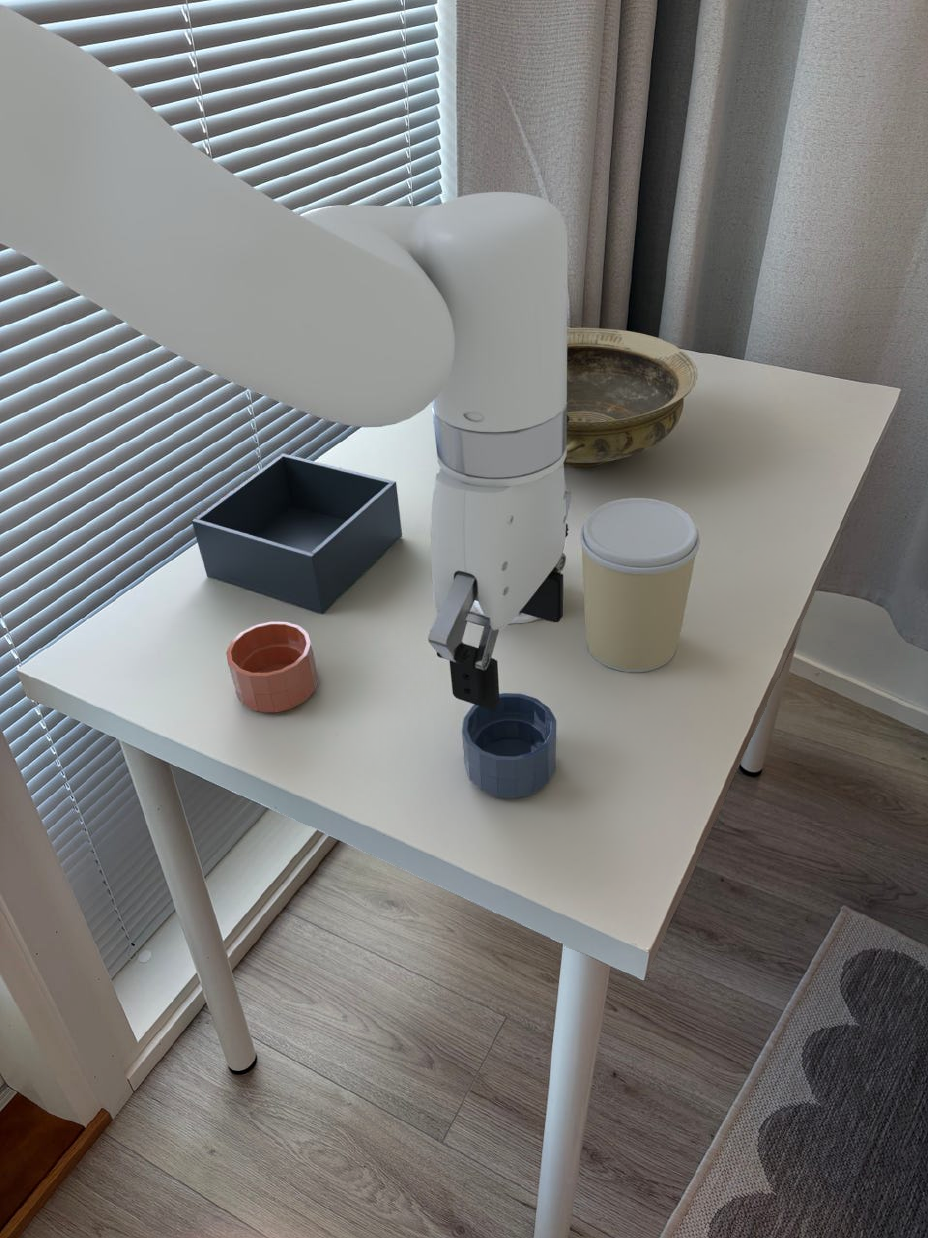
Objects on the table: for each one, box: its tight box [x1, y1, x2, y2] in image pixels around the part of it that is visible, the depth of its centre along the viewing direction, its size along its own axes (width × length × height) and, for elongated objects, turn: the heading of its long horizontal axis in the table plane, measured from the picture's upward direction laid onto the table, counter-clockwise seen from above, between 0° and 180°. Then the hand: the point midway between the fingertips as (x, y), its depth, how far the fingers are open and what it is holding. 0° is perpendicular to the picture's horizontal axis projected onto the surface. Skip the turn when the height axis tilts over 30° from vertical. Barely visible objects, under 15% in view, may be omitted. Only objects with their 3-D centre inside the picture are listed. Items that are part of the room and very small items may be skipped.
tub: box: [191, 453, 403, 615], centre depth 93 cm, size 14×14×6 cm
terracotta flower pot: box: [225, 621, 319, 714], centre depth 79 cm, size 7×7×4 cm
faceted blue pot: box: [461, 692, 557, 799], centre depth 70 cm, size 7×7×4 cm
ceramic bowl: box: [563, 327, 698, 468], centre depth 106 cm, size 30×24×10 cm
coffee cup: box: [579, 497, 701, 673], centre depth 78 cm, size 9×9×12 cm
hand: (510, 656), depth 65 cm, fingers open, 9 cm apart
